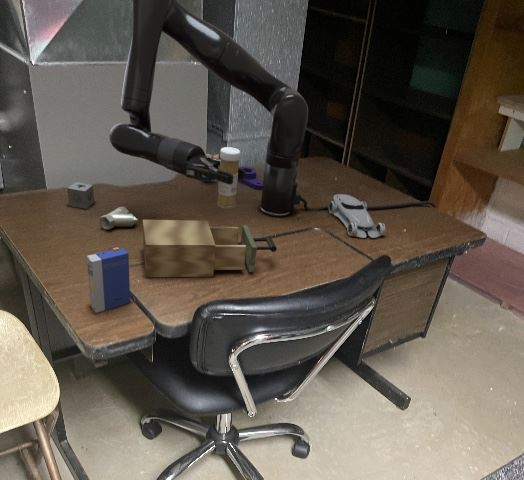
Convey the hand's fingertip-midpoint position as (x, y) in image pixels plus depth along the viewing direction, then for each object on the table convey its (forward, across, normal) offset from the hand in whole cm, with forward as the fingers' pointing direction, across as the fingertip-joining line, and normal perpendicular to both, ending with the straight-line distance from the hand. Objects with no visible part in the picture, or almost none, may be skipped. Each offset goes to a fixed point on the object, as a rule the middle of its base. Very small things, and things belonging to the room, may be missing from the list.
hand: (238, 177), depth 129 cm
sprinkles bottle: (-3, 0, +8) cm, 8 cm away
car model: (+14, +44, +20) cm, 50 cm away
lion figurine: (-35, +39, +20) cm, 56 cm away
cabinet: (-6, -13, +20) cm, 25 cm away
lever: (-24, +45, +20) cm, 55 cm away
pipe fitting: (-30, -9, +20) cm, 37 cm away
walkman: (-5, -37, +20) cm, 42 cm away
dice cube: (-47, -6, +20) cm, 51 cm away
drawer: (+3, -4, +19) cm, 19 cm away
